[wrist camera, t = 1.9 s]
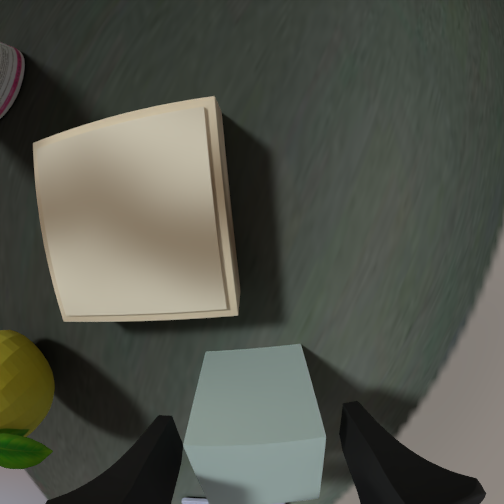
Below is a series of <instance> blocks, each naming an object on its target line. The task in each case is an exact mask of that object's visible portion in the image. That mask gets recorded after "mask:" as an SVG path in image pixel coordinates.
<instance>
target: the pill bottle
mask: <svg viewBox="0 0 504 504" xmlns="http://www.w3.org/2000/svg"><path fill="white" fill-rule="evenodd" d="M24 69H25V62H24V57H23V55H22V53H21V52H20V51H19V50H18V49H16V48H14V47H11V46H9V45H6V44H4V43H1V42H0V119H1V118H2V117H3V116H4V115H5V114H6V112H7V111H8V110H9V109H10V107H11V106H12V104H13V103H14V101H15V99H16V97H17V95H18V93H19V90H20V87H21V84H22V80H23V76H24Z"/></svg>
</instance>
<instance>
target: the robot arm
mask: <svg viewBox="0 0 504 504" xmlns="http://www.w3.org/2000/svg"><path fill="white" fill-rule="evenodd" d="M339 435H340V439H341V444H342V448H343V453H344V456H345V459H346V461H347V464H348V467H349V470H350V473H351V475H352V478H353V481H354V484H355V486H356V489H357V492H358V495H359V499H360V503H361V504H480V503H481V502H482V501H483V499H484V498H485V495H486V492H485V491H484V489H483V487H482V485H481V484H480V483H479V481H478V480H477V479H476V478H473V477H469V476H465V475H461V474H458V473H455V472H452V471H449V470H447V469H444V468H442V467H440V466H438V465H436V464H433V463H431V462H429V461H427V460H426V459H424V458H422V457H420V456H419V455H417V454H416V453H414V452H413V451H411V450H409V449H408V448H407V447H405V446H404V445H402V444H401V443H400V442H399V441H398V440H396V439H395V438H394V437H393V436H392V435H390V434H389V433H388V432H387V431H386V430H385V429H384V428H383V427H382V426H381V425H380V424H379V423H378V422H377V421H376V420H375V419H374V418H373V417H372V416H371V415H370V414H369V413H368V412H367V411H366V410H365V409H364V408H363V406H362V405H361V404H360V403H359V402H358V401H354V402H349V403H344V404H343V409H342V417H341V425H340V433H339ZM182 450H183V444H182V441H181V438H180V436H179V433H178V431H177V428H176V426H175V423H174V420H173V417H172V416H162V415H159V416H158V417H157V418H156V419H155V420H154V421H153V423H152V424H151V425H150V426H149V427H148V429H147V430H146V431H145V432H144V433H143V435H142V436H141V437H140V438H139V439H138V440H137V441H136V443H135V444H134V445H133V446H132V447H131V448H130V449H129V450H128V451H127V452H126V453H125V454H124V455H123V456H122V457H121V458H120V459H119V460H118V461H117V462H116V463H115V464H113V465H112V466H111V467H110V468H109V469H107V470H106V471H105V472H103V473H102V474H101V475H99V476H98V477H96V478H95V479H93V480H92V481H90V482H88V483H87V484H85V485H83V486H81V487H80V488H78V489H76V490H74V491H71V492H69V493H67V494H65V495H62V496H59V497H56V498H53V499H50V500H47V502H46V504H171V501H172V497H173V493H174V490H175V486H176V482H177V478H178V474H179V470H180V466H181V460H182ZM182 504H209V502H208V500H207V499H201V498H183V499H182ZM275 504H285V503H275Z"/></svg>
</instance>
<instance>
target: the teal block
mask: <svg viewBox="0 0 504 504" xmlns="http://www.w3.org/2000/svg"><path fill="white" fill-rule="evenodd" d="M325 443H326V434H325V430H324V426H323V423H322V419H321V415H320V411H319V408H318V404H317V400H316V397H315V393H314V389H313V386H312V382H311V378H310V375H309V371H308V368H307V364H306V360H305V357H304V353H303V350H302V346H301V344H295V345H286V346H276V347H266V348H254V349H241V350H227V351H208V352H206V353H205V357H204V361H203V365H202V369H201V373H200V377H199V381H198V385H197V389H196V393H195V398H194V402H193V406H192V410H191V414H190V418H189V423H188V427H187V431H186V435H185V440H184V444H183V446H184V448H185V451H186V453H187V456H188V458H189V460H190V463H191V465H192V468H193V470H194V472H195V474H196V477H197V479H198V481H199V483H200V485H201V488H202V490H203V492H204V494H205V496H206V498H207V500H208V502H209V504H275V503H286V502H295V501H303V500H311V499H317V498H319V493H320V486H321V479H322V471H323V462H324V453H325Z"/></svg>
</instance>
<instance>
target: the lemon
mask: <svg viewBox="0 0 504 504" xmlns="http://www.w3.org/2000/svg"><path fill="white" fill-rule="evenodd" d="M54 389H55V384H54V378H53V373H52V370H51V368H50V366H49V363H48V361H47V360H46V358H45V357H44V355H43V354H42V352H41V351H40V350H39V349H38V348H37V347H36V346H35V344H34V343H33V342H31V341H30V340H29V339H28V338H26V337H25V336H24V335H22V334H20V333H18V332H15V331H12V330H0V466H2V467H4V468H10V469H25V468H28V467H31V466H35V465H37V464H39V463H40V462H42V461H43V460H44V459H45V458H46V457H47V456H48V455H49V454H51V453H52V452H53V451H52V450H51V449H49V448H48V447H46V446H45V445H43V444H42V443H39V442H37V441H35V440H33V439H30V438H27V436H28V435H29V434H30V433H32V432H33V431H34V430H35V429H36V427H37V426H38V425H39V424H40V423H41V422H42V420H43V419H44V418H45V416H46V415H47V413H48V411H49V409H50V407H51V404H52V401H53V395H54Z"/></svg>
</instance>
